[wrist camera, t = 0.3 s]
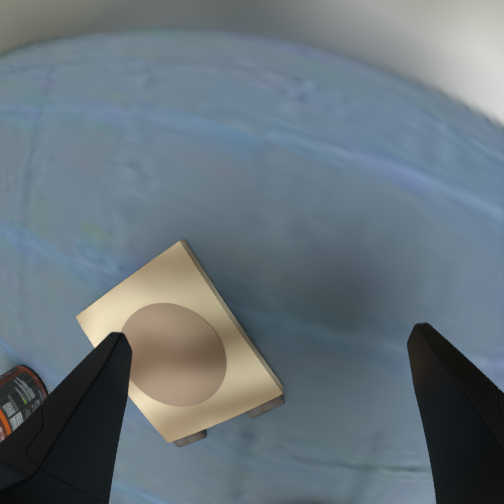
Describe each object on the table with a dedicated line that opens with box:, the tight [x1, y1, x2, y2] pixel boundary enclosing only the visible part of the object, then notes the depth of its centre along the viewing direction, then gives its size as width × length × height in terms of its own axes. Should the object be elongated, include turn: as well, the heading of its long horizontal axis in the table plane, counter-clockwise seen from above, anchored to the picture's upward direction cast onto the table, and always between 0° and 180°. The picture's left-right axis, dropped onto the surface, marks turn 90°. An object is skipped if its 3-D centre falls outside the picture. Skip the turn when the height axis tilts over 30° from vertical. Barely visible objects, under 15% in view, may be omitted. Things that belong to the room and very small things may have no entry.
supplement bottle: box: [0, 366, 47, 442], centre depth 21 cm, size 6×6×11 cm
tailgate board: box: [76, 240, 285, 447], centre depth 24 cm, size 15×12×1 cm
